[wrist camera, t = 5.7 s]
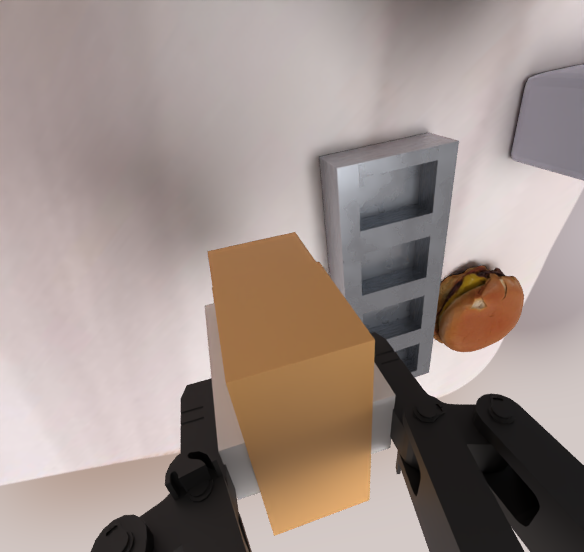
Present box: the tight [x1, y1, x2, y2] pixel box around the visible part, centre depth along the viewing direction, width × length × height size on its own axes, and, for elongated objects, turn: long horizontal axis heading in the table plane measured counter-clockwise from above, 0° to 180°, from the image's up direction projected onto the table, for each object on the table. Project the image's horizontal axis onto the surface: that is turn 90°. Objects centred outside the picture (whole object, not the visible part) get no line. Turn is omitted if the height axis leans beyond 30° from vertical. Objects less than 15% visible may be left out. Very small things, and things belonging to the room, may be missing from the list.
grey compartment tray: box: [319, 133, 459, 377], centre depth 31 cm, size 24×9×4 cm, turn 9°
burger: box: [433, 265, 524, 352], centre depth 36 cm, size 10×9×5 cm
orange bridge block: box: [208, 232, 375, 536], centre depth 13 cm, size 8×4×7 cm, turn 7°
